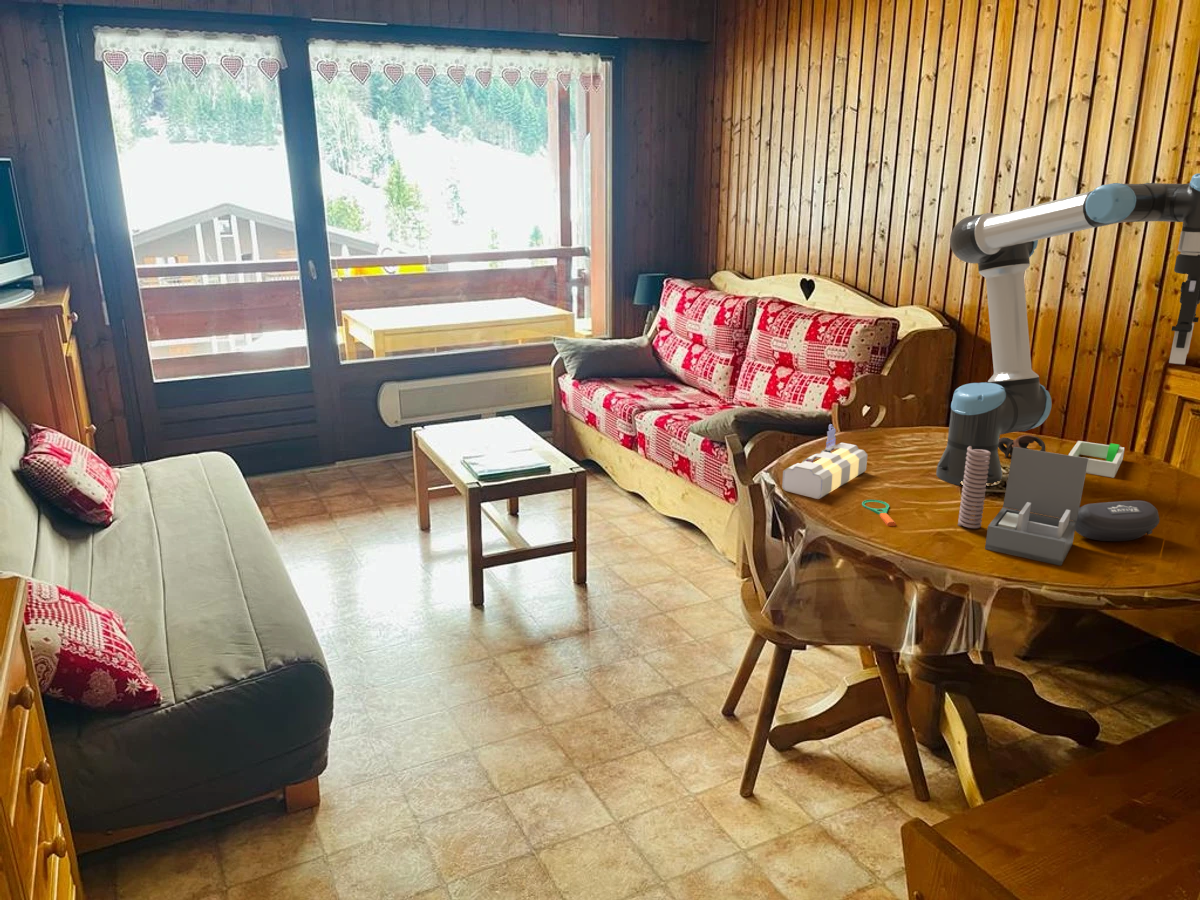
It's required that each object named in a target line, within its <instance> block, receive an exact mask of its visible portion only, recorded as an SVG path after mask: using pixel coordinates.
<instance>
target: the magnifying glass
mask: <svg viewBox="0 0 1200 900" xmlns="http://www.w3.org/2000/svg"><path fill="white" fill-rule="evenodd" d="M866 503H867V504H868V503H878V504H879V503H880V504H881V505H884V506H885V507H883V508H874V507H870V506H867V505H866ZM861 505H862V507H863V508H865V509H867V510H869V511H871V512H873V513H875V514H876V515H879V517H880V518H881V521H883V522H884V524H885V525H886V526H887V527H896V526H897V524H896V522H895V521H894V519H892V517H891V516H890V515H889V514H888V511H889V510H890V504H889V503H887V502H886V501H883V500H880V499H879V500H878V499H866V500H865V499H864V500H863V501H862V502H861Z"/></svg>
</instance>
